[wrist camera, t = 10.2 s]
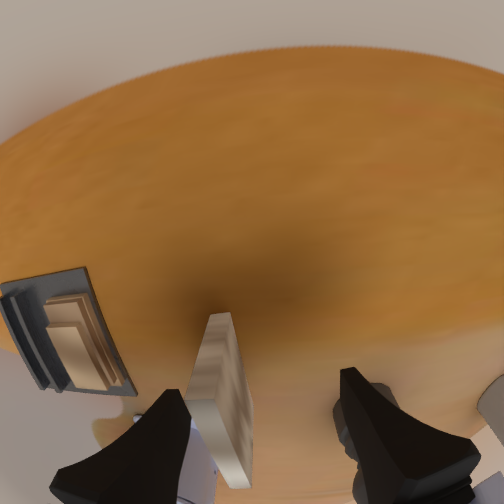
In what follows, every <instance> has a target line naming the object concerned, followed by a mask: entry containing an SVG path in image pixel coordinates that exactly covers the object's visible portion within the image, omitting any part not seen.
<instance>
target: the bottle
mask: <svg viewBox="0 0 504 504" xmlns="http://www.w3.org/2000/svg"><path fill="white" fill-rule="evenodd" d="M477 409H478V411H479V412H480V413H481V415H482V416H483V418H484V419H485V421H486V422H487V423H488V425H489V426H490V428H491V429H492V430H493V432H494V433H495V435H496V436H497V438H498V439H499V441H500V442H501V443H502V445H503V446H504V375H502V376H500V377H499V378H497V379H496V380H495V381H494V382H493V383H492V384H491V385H490V386H489V387H488V388H487V389H486V391H485V392H484V394H483V395H482V396H481V398H480V400H479V402H478V405H477Z"/></svg>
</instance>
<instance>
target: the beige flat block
mask: <svg viewBox="0 0 504 504" xmlns="http://www.w3.org/2000/svg"><path fill="white" fill-rule="evenodd" d="M184 401H185V403H186V405H187V408H188V410H189V412H190V414H191V416H192V418H193V420H194V422H195V424H196V426H197V428H198V430H199V432H200V434H201V436H202V438H203V440H204V442H205V444H206V446H207V448H208V450H209V452H210V454H211V456H212V457H213V459H214V461H215V463H216V465H217V466H218V468H219V470H220V472H221V473H222V475H223V477H224V479H225V480H226V482H227V484H228V485H229V487H230V489H242V488H252V457H253V416H254V405H253V401H252V397H251V394H250V390H249V386H248V382H247V378H246V374H245V370H244V366H243V363H242V359H241V355H240V351H239V347H238V342H237V338H236V334H235V330H234V326H233V322H232V318H231V313H230V312H227V313H219V314H211V315H210V317H209V320H208V323H207V327H206V330H205V333H204V336H203V339H202V343H201V346H200V349H199V352H198V356H197V359H196V362H195V365H194V369H193V372H192V375H191V379H190V382H189V385H188V388H187V392H186V395H185V399H184Z"/></svg>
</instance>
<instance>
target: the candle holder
mask: <svg viewBox="0 0 504 504" xmlns="http://www.w3.org/2000/svg"><path fill="white" fill-rule="evenodd" d="M370 384H371V385H372V386H373V387H374V388H375V389H376V390H378V391H379V392H380V393H381V394H382V395H383V396H384V397H385V398H387V399H388V400H389V401H390V402H392V403H393V404H394V405H395V406H397V407H398V408H400V407H399V406H398V404H397V402H396V400H395V398H394V396H393V394H392V392H391V390H390V388H389V387H388V386H386V385H384V384H382V383H370ZM333 418H334V422H335V426H336V429H337V433H338V437H339V441H340V442H341V443H342V445H343V446H344V447H345V453H346V454H347V455H348V456H349V457H350V458H351V459H354V460H355V461H356V462H358V465H357V469H358V471H357V473H356V476H355V478H354V482H353V490H352V493H353V497H354V499H355V501H356V502H357V504H368V498H367V492H366V487H365V482H364V478H363V473H362V469H361V464H360V461H359V458H358V455H357V452H356V449H355V447H354V444H353V441H352V439H351V436H350V433H349V431H348V428H347V425H346V422H345V420H344V416H343V412H342V407H341V403H340V399H339V400H338V401H337V403H336V405H335V407H334V409H333Z"/></svg>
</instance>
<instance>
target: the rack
mask: <svg viewBox="0 0 504 504" xmlns="http://www.w3.org/2000/svg"><path fill="white" fill-rule="evenodd" d="M0 288H1V291H2V294H3V295H2V296H1V297H0V311H1V314H2V316H3V319H4V321H5V323H6V325H7V328H8V330H9V332H10V334H11V337H12V339H13V341H14V343H15V345H16V347H17V349H18V351H19V353H20V355H21V357H22V359H23V360H24V362H25V364H26V366H27V368H28V370H29V371H30V373H31V375H32V376H33V378H34V380H35V382H36V383H37V385H38V387H39V388H40V389H41V390H45V389H46V388H53V389H55V391H56V392H57V393H62V392H63V390H66V391H74V392H83V393H92V394H103V395H117V396H137V395H138V393H137V391H136V389H135V387H134V385H133V383H132V381H131V379H130V377H129V375H128V373H127V371H126V369H125V367H124V364H123V362H122V360H121V358H120V356H119V354H118V351H117V349H116V347H115V345H114V342H113V340H112V338H111V335H110V333H109V330H108V328H107V325H106V323H105V320H104V318H103V315H102V313H101V310H100V307H99V305H98V302H97V299H96V296H95V293H94V291H93V288H92V285H91V282H90V279H89V276H88V272H87V269H86V267H82V268H77V269H72V270H67V271H61V272H56V273H51V274H46V275H41V276H36V277H31V278H26V279H21V280H16V281H12V282H7V283H2V284H0ZM80 293H88V296H89V299H90V301H91V304H92V307H93V309H94V312H95V315H96V317H97V320H98V322H99V325H100V327H101V330H102V332H103V334H104V337H105V339H106V341H107V344H108V346H109V348H110V350H111V353H112V355H113V357H114V359H115V361H116V363H117V365H118V367H119V370H120V372H121V374H122V376H123V378H124V380H125V382H124V384H123V386H110V387H109V389H108V391H107V390H94V389H83V388H76V386H75V385H74V383H73V381H72V380H71V378H70V376H69V374H68V372H67V371H66V369H65V367H64V365H63V363H62V361H61V359H60V357H59V355H58V353H57V351H56V349H55V347H54V345H53V343H52V341H51V339H50V337H49V334H48V332H47V330H46V327H47V326H48V325H50V321H49V319H48V316H47V314H46V312H45V309H44V307H43V305H45V304H46V300H48V299H49V298H50V297H57V296H65V295H73V294H80Z"/></svg>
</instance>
